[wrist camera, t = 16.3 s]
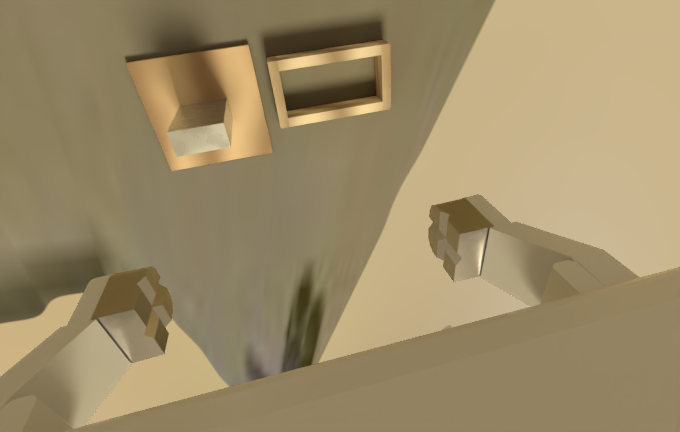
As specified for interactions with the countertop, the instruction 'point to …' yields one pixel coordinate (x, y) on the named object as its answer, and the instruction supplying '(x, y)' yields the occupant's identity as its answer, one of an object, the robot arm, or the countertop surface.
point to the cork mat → (204, 99)
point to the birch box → (329, 56)
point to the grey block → (201, 127)
